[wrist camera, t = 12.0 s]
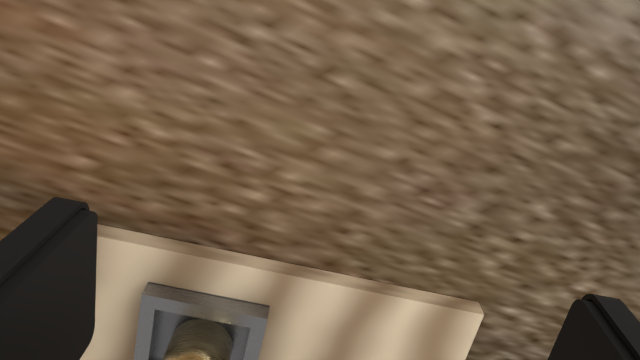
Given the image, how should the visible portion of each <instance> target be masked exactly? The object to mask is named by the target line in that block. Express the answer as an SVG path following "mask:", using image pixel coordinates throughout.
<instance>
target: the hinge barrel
mask: <svg viewBox="0 0 640 360" xmlns="http://www.w3.org/2000/svg"><path fill="white" fill-rule="evenodd" d="M232 347H233V346H232V340H231V337H230V335H229V334H228V332H227V331H226V330H225V329H224V328H223V327H222V326H220V325H219V324H217V323H215V322H213V321H210V320H205V319H193V320H189V321H186V322H184V323H182V324H180V325H179V326H178V327H177V328H176V329H175V331H174V333H173V335H172V337H171V340H170V342H169V344H168V347H167V349H166V352H165V354H164V357H163V359H162V360H230V357H231V353H232Z"/></svg>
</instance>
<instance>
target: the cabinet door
mask: <svg viewBox="0 0 640 360" xmlns="http://www.w3.org/2000/svg"><path fill="white" fill-rule="evenodd" d="M483 316H484V313H483V311H482V309H481V307H480V304H479V302H475V301H471V300H466V299H461V298H456V297H451V296H446V295H441V294H436V293H431V292H427V291H422V290H417V289H412V288H407V287H402V286H397V285H392V284H388V283H383V282H378V281H373V280H368V279H363V278H358V277H353V276H349V275H344V274H339V273H334V272H329V271H324V270H319V269H314V268H309V267H305V266H300V265H295V264H290V263H285V262H280V261H275V260H270V259H266V258H261V257H256V256H251V255H246V254H241V253H236V252H231V251H226V250H222V249H217V248H212V247H207V246H202V245H197V244H192V243H187V242H183V241H178V240H173V239H168V238H163V237H158V236H153V235H148V234H144V233H139V232H134V231H129V230H124V229H119V228H114V227H109V226H104V225H100V224H97V262H96V302H95V329H94V334H93V337H92V340H91V342H90V344H89V346H88V348H87V349H86V351H85V352H84V354H83V355H82V357H81V358H80V360H162V359H163V357H164V354H165V352H166V349H167V347H168V344H169V342H170V340H171V337H172V335H173V333H174V331H175V329H176V328H177V327H178V326H179V325H180V324H182V323H184V322H186V321H189V320H193V319H205V320H210V321H213V322H215V323H217V324H219V325H220V326H222V327H223V328H224V329H225V330H226V331H227V332H228V334H229V335H230V337H231V340H232V346H233V347H232V353H231V357H230V360H465V359H466V357H467V354H468V352H469V350H470V347H471V345H472V343H473V340H474V338H475V335H476V333H477V331H478V328H479V326H480V324H481V321H482V319H483Z"/></svg>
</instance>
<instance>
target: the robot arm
mask: <svg viewBox="0 0 640 360" xmlns="http://www.w3.org/2000/svg"><path fill="white" fill-rule="evenodd" d="M97 223H98V220H97V214H96V213H95V212H93V211H89V207H88V204H87V203H85V202H80V201H74V200H69V199H63V198H58V197H54V198H52V199H51V200H50V201H48V202H47V203H46V204H45V205H44V206H42V207H41V208H40V209H39V210H37V211H36V212H35V213H34V214H33V215H31V216H30V217H29V218H28V219H27V220H25V221H24V222H23V223H22V224H20V225H19V226H18V227H17V228H16V229H14V230H13V231H12V232H11V233H10V234H8V235H7V236H6V237H5V238H4V239H2V240H1V241H0V360H80V358H81V357H82V355H83V354H84V352H85V351H86V349H87V348H88V346H89V344H90V342H91V340H92V337H93V334H94V329H95V302H96V262H97ZM548 360H640V322H639V321H638V320H637V319H636V317H635V316H634V315H633V314H632V313H631V311H630V310H629V309H628V308H627V306H626V305H625V304H624V303H623V302H622V301H621V300H620V299H616V298H610V297H605V296H599V295H594V294H587V295H585V296H584V297H583V298H582V299H581V300H580V299H578V300H575V301H574V302H573V304H572V306H571V308H570V310H569V312H568V315H567V317H566V319H565V321H564V324H563V326H562V328H561V331H560V333H559V335H558V337H557V340H556V342H555V344H554V346H553V349H552V351H551V353H550V356H549V358H548Z"/></svg>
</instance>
